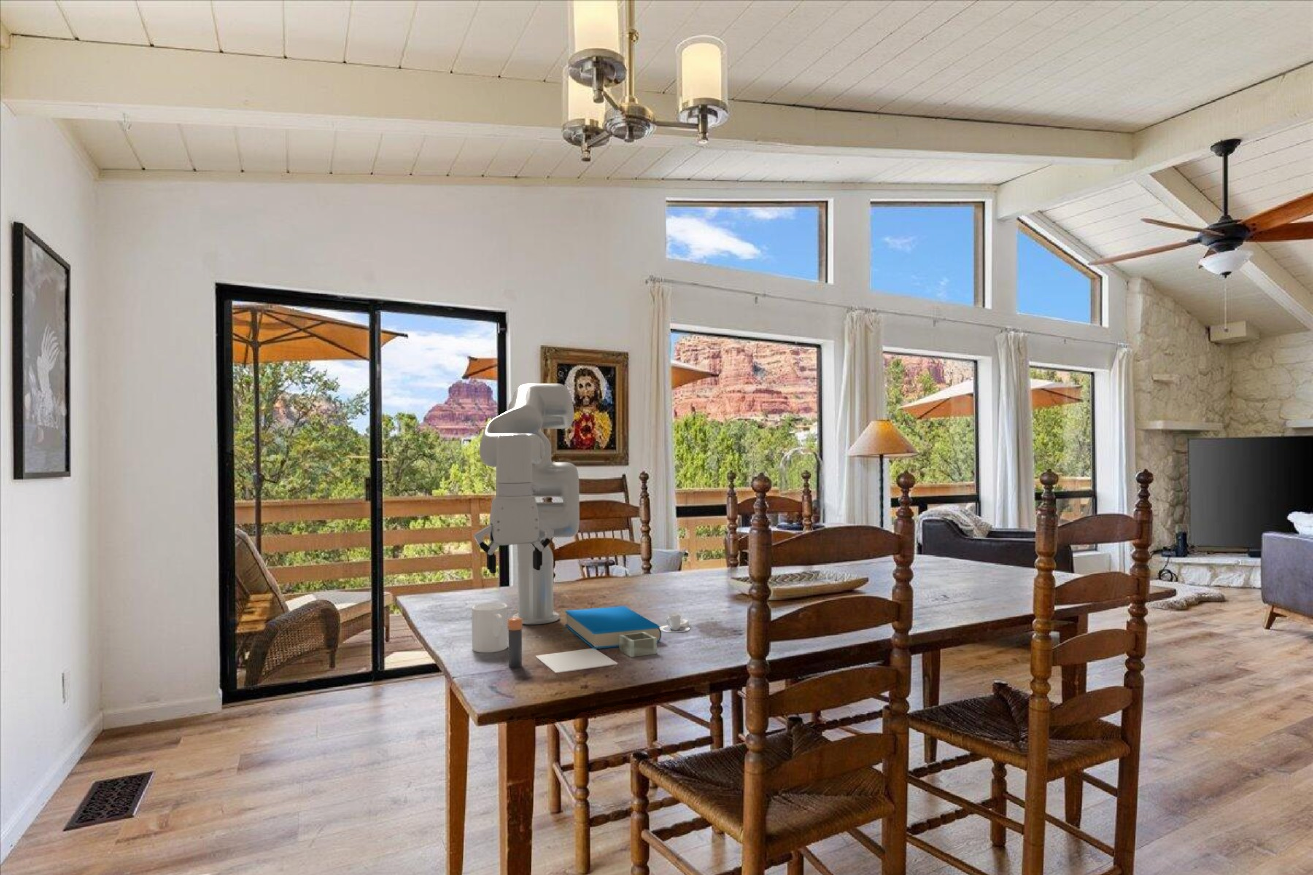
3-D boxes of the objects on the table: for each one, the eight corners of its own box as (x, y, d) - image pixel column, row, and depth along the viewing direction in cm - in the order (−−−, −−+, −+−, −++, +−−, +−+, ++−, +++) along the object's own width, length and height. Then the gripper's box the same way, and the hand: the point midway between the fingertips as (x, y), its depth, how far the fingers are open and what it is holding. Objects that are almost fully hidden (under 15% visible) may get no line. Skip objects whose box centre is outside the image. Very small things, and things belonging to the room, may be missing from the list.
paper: (535, 656, 173) (535, 655, 173) (593, 648, 179) (593, 648, 179) (555, 673, 160) (555, 672, 160) (617, 664, 166) (617, 663, 166)
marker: (506, 665, 166) (506, 618, 166) (520, 663, 168) (520, 616, 168) (510, 668, 163) (509, 621, 164) (524, 666, 165) (524, 619, 165)
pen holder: (619, 650, 178) (619, 634, 178) (644, 646, 180) (644, 631, 180) (630, 657, 172) (630, 641, 172) (656, 653, 175) (656, 637, 175)
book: (594, 632, 178) (564, 609, 201) (594, 650, 178) (564, 625, 201) (662, 625, 185) (626, 604, 208) (662, 643, 185) (625, 620, 208)
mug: (485, 658, 171) (485, 614, 171) (467, 646, 181) (467, 604, 182) (519, 653, 176) (519, 609, 176) (500, 642, 186) (499, 600, 186)
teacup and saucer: (683, 625, 204) (683, 609, 204) (698, 631, 196) (698, 615, 196) (653, 628, 200) (653, 612, 200) (667, 635, 193) (667, 619, 193)
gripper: (547, 489, 173) (548, 565, 173) (470, 491, 165) (470, 571, 165) (558, 490, 166) (559, 570, 166) (478, 493, 159) (478, 576, 158)
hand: (514, 571), depth 166 cm, fingers open, 9 cm apart
